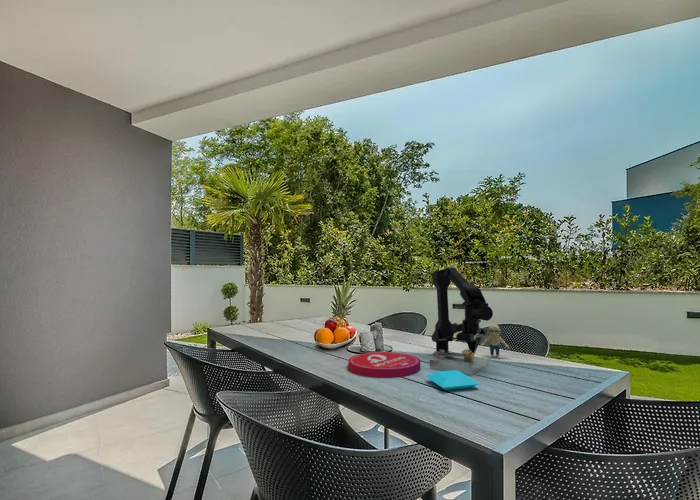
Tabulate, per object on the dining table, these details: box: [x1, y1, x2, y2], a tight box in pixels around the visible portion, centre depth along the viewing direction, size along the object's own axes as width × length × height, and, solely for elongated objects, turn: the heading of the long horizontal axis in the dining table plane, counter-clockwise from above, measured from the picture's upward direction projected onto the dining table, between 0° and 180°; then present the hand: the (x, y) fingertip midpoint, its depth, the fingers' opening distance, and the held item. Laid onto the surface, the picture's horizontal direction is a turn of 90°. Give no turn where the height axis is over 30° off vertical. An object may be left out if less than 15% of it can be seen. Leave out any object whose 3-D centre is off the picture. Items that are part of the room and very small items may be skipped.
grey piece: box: [429, 349, 488, 376], centre depth 169 cm, size 16×18×7 cm
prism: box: [425, 370, 480, 391], centre depth 145 cm, size 14×14×5 cm
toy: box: [479, 323, 510, 360], centre depth 186 cm, size 13×6×15 cm, turn 68°
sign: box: [347, 351, 421, 379], centre depth 170 cm, size 30×4×30 cm
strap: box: [440, 351, 469, 357], centre depth 167 cm, size 3×13×1 cm, turn 51°
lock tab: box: [461, 349, 475, 360], centre depth 165 cm, size 6×3×4 cm, turn 141°
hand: (472, 354), depth 170 cm, fingers closed
